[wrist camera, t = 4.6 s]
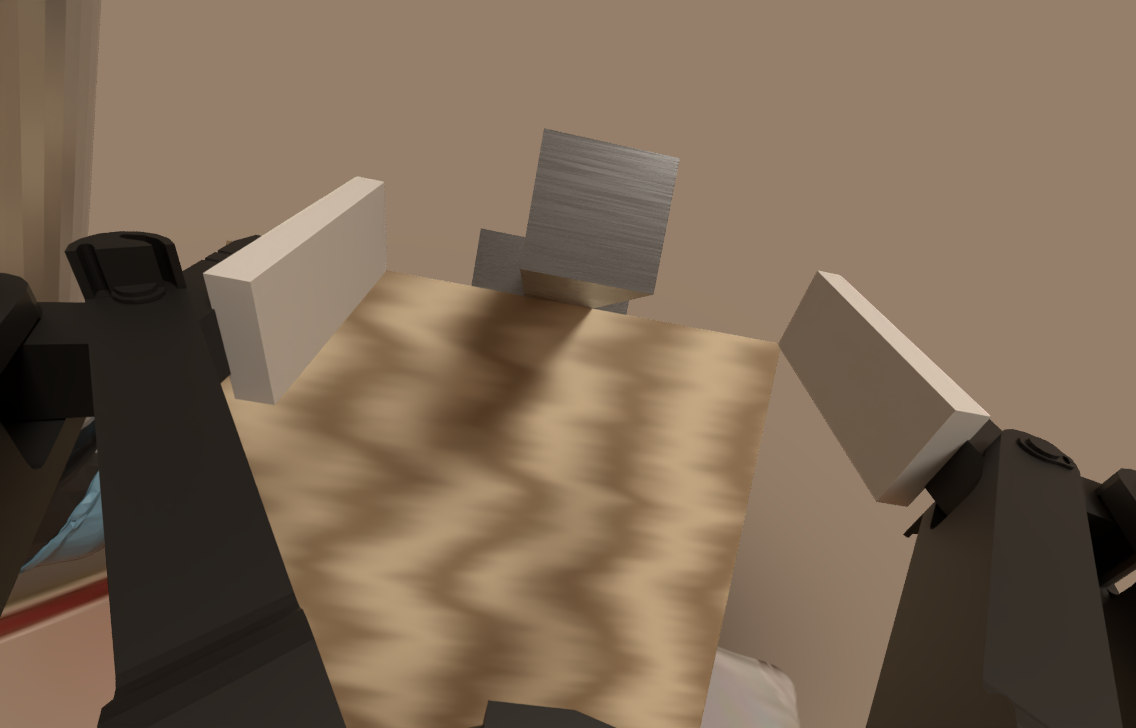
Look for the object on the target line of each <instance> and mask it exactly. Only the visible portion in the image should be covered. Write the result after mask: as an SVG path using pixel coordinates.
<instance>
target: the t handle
mask: <svg viewBox="0 0 1136 728" xmlns="http://www.w3.org/2000/svg"><path fill="white" fill-rule="evenodd" d="M678 163H679V158H676V157H671V156H666V155H662V154H657V153H653V152H648V151H644V150H639V149H635V148H630V147H625V146H621V145H617V144H612V143H608V142H603V141H598V140H594V139H590V138H585V137H580V136H575V135H571V134H567V133H562V132H558V131H553V130H549V129H544V132H543V138H542V144H541V150H540V156H539V162H538V168H537V173H536V179H535V185H534V191H533V197H532V202H531V208H530V214H529V220H528V226H527V232H526V237H521V236H516V235H511V234H506V233H501V232H495V231H491V230H486V229H481V232H480V238H479V244H478V250H477V256H476V262H475V268H474V274H473V280H472V286H474V287H479V288H484V289H490V290H495V291H500V292H506V293H511V294H516V295H522V296H527V297H532V298H538V299H543V300H549V301H554V302H559V303H565V304H570V305H575V306H581V307H586V308H591V309H597V310H602V311H608V312H613V313H618V314H624V315H626V312H627V308H628V302H629V300H631V299H636V298H641V297H645V296H649V295H653V294H654V288H655V283H656V277H657V273H658V267H659V263H660V257H661V252H662V247H663V242H664V236H665V231H666V226H667V221H668V216H669V211H670V205H671V200H672V195H673V189H674V184H675V179H676V174H677V169H678Z"/></svg>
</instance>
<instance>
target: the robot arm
mask: <svg viewBox="0 0 1136 728" xmlns="http://www.w3.org/2000/svg"><path fill="white" fill-rule="evenodd" d="M100 9H101V0H0V616H1V614H2V612H3V609H4V607H5V605H6V602H7V600H8V598H9V595H10V593H11V591H12V588H13V586H14V584H15V581H16V579H17V577H18V574H19V573H23V572H25V571H27V570H30V569H32V568H33V567H38V566H43V565H49V564H55V563H60V562H66V561H72V560H78V559H81V558H84V557H87V556H89V555H92V554H94V553H95V552H97V551H99V550H100V549H102V548H103V547H105V553H106V565H107V577H108V590H109V602H110V613H111V626H112V638H113V651H114V662H115V675H116V690H115V695H114V699H113V700H111V701H110V702H109V703H108V704H106V705H105V706H104V707H103V708H102V710H101V714H100V718H99V721H98V725H97V728H346V725H345V722H344V720H343V717H342V714H341V711H340V708H339V706H338V703H337V700H336V697H335V694H334V692H333V689H332V686H331V683H330V680H329V678H328V675H327V672H326V669H325V666H324V664H323V661H322V658H321V655H320V652H319V650H318V647H317V644H316V641H315V638H314V636H313V633H312V630H311V628H310V625H309V622H308V620H307V617H306V615H305V613H304V611H303V609H302V608H300V606H299V604H298V601H297V599H296V596H295V593H294V591H293V588H292V585H291V582H290V579H289V576H288V574H287V571H286V568H285V565H284V562H283V559H282V556H281V554H280V551H279V548H278V545H277V542H276V539H275V537H274V534H273V531H272V528H271V525H270V522H269V520H268V517H267V514H266V511H265V508H264V505H263V503H262V500H261V497H260V494H259V491H258V488H257V486H256V483H255V480H254V477H253V474H252V471H251V468H250V466H249V463H248V460H247V457H246V454H245V451H244V449H243V446H242V443H241V440H240V437H239V434H238V432H237V429H236V426H235V423H234V420H233V417H232V415H231V412H230V409H229V406H228V403H227V400H226V397H225V395H224V392H223V389H222V386H221V383H222V382H223V381H224V380H225V379H226V378H227V377H228V376H229V377H230V381H231V385H232V389H233V392H234V396H235V399H239V400H245V401H252V402H258V403H264V404H270V405H275V404H276V403H277V402H278V401H279V400H280V398H281V397H282V396H283V395H284V394H285V392H286V391H287V390H288V389H289V388H290V386H291V385H292V384H293V383H294V382H295V380H296V379H297V378H298V377H299V375H300V374H301V373H302V372H303V371H304V369H305V368H306V367H307V366H308V365H309V363H310V362H311V361H312V360H313V359H314V357H315V356H316V355H317V354H318V353H319V351H320V350H321V349H322V348H323V347H324V345H325V344H326V343H327V342H328V341H329V339H330V338H331V337H332V336H333V335H334V333H335V332H336V331H337V330H338V328H339V327H340V326H341V325H342V324H343V322H344V321H345V320H346V319H347V318H348V316H349V315H350V314H351V313H352V312H353V310H354V309H355V308H356V307H357V306H358V304H359V303H360V302H361V301H362V300H363V298H364V297H365V296H366V295H367V294H368V292H369V291H370V290H371V289H372V288H373V286H374V285H375V284H376V283H377V282H378V280H379V279H380V278H381V277H382V275H383V274H384V273H385V272H386V237H385V236H386V235H385V190H384V189H385V186H384V182H382V181H377V180H372V179H368V178H363V177H355V178H353V179H352V180H350V181H349V182H347V183H346V184H344V185H342V186H341V187H339V188H338V189H336V190H334V191H333V192H331V193H330V194H328V195H326V196H325V197H323V198H322V199H320V200H318V201H317V202H315V203H314V204H312V205H311V206H309V207H307V208H306V209H304V210H302V211H301V212H299V213H298V214H296V215H295V216H293V217H291V218H290V219H288V220H287V221H285V222H283V223H282V224H280V225H279V226H277V227H275V228H274V229H272V230H271V231H269V232H268V233H266V234H264V235H263V236H259V235H254V236H251V237H247V238H243V239H239V240H236V241H233V242H231V243H229V244H228V245H226V246H225V247H223V248H221V249H219V250H218V253H217V252H214V253H213V254H211V255H209V256H208V257H206V258H205V260H201V261H199V262H198V263H196V264H194V265H192V266H191V267H189V268H188V269H186V270H184V271H182V269H181V265H180V262H179V258H178V255H177V251H176V248H175V244H174V243H173V242H172V241H171V240H170V239H169V238H166V237H163V236H161V235H157V234H152V233H146V232H125V231H123V232H122V231H120V232H110V233H101V234H96V235H92V236H88V225H89V208H90V190H91V171H92V153H93V136H94V118H95V99H96V82H97V64H98V46H99V27H100ZM84 299H85V303H84ZM778 346H779V347H780V349H781V350H782V352H783V354H784V355H785V357H786V358H787V360H788V361H789V363H790V365H791V366H792V368H793V370H794V371H795V373H796V374H797V376H798V378H799V379H800V381H801V382H802V384H803V385H804V387H805V389H806V390H807V392H808V393H809V395H810V397H811V398H812V400H813V401H814V403H815V405H816V406H817V407H818V409H819V411H820V412H821V414H822V416H823V417H824V419H825V420H826V422H827V424H828V425H829V427H830V428H831V430H832V432H833V433H834V435H835V436H836V438H837V440H838V441H839V443H840V444H841V446H842V448H843V449H844V451H845V452H846V454H847V456H848V457H849V459H850V460H851V462H852V463H853V465H854V467H855V468H856V470H857V472H858V473H859V475H860V476H861V478H862V479H863V481H864V483H865V484H866V486H867V488H868V489H869V491H870V492H871V494H872V495H873V497H874V499H875V500H876V502H881V503H887V504H894V505H899V506H905V507H908V506H909V505H910V504H911V503H912V502H913V500H914V499H915V498H916V497H917V496H918V495H919V494H920V493H921V492H922V491H923V490H924V489H925V488H926V490H927V491H928V492H929V494H930V495H931V496H932V498H933V499H934V500H935V502H934V503H933V504H932V505H931V506H930V507H929V508H928V509H927V510H926V511H925V512H924V513H923V514H922V515H921V516H920V517H919V518H918V520H916V522H915V523H914V524H913V525H912V526H911V527H910V528H909V529H908V530H907V531H906V532H905V533H904V534H903V535H905V536H906V537H910V536H911V535H912V534H918V536H917V540H916V543H915V547H914V551H913V555H912V558H911V562H910V566H909V569H908V573H907V577H906V580H905V584H904V588H903V591H902V595H901V599H900V603H899V606H898V610H897V614H896V617H895V621H894V625H893V629H892V632H891V636H890V640H889V643H888V647H887V651H886V654H885V658H884V662H883V666H882V669H881V673H880V677H879V680H878V684H877V688H876V692H875V695H874V699H873V703H872V706H871V710H870V714H869V718H868V722H867V725H866V728H1136V582H1135V583H1134V584H1133V585H1132V586H1131V587H1129V588H1128V589H1126V590H1125V591H1123V592H1121V593H1120V594H1119V592H1118V590H1117V588H1116V587H1115V585H1114V584H1115V583H1116V582H1118V581H1119V580H1121V579H1122V578H1123V577H1125V576H1127V575H1128V574H1130V573H1131V572H1133V571H1134V570H1136V471H1135V470H1132V469H1120V470H1119V471H1118V472H1116V473H1115V474H1114V475H1112V476H1111V477H1110V478H1109V479H1108V480H1106V481H1105V482H1104V483H1103V484H1100V483H1097V482H1095V481H1092V480H1089V479H1086V478H1084V477H1081V476H1080V471H1079V470H1078V468H1077V466H1076V464H1075V463H1074V462H1073V460H1072V459H1071V458H1069V457H1068V456H1066V455H1065V454H1064V453H1062V452H1061V451H1060V450H1059V449H1058V448H1057V447H1055V446H1054V445H1053V444H1051V443H1049V442H1048V441H1046V440H1043V439H1041V438H1038V437H1035V436H1032V435H1030V434H1028V433H1025V432H1022V431H1018V430H1014V429H1007V430H1004V431H1002V430H1001V429H999V428H998V427H997V426H996V425H995V424H994V423H993V422H992V421H991V420H990V417H991V416H990V415H989V414H988V413H987V412H986V411H985V410H984V409H983V408H981V407H980V406H979V405H978V404H977V403H976V402H975V401H974V400H973V399H972V398H971V397H970V396H969V395H968V394H967V393H965V392H964V391H963V390H962V389H961V388H960V387H959V386H958V385H957V384H956V383H955V382H954V381H953V380H952V379H951V378H949V377H948V376H947V375H946V374H945V373H944V372H943V371H942V370H941V369H940V368H939V367H938V366H937V365H936V364H935V363H933V362H932V361H931V360H930V359H929V358H928V357H927V356H926V355H925V354H924V353H923V352H922V351H921V350H920V349H918V348H917V347H916V346H915V345H914V344H913V343H912V342H911V341H910V340H909V339H908V338H907V337H906V336H905V335H903V334H902V333H901V332H900V331H899V330H898V329H897V328H896V327H895V326H894V325H893V324H892V323H891V322H890V321H889V320H888V319H886V318H885V317H884V316H883V315H882V314H881V313H880V312H879V311H878V310H877V309H876V308H875V307H874V306H873V305H872V304H870V303H869V302H868V301H867V300H866V299H865V298H864V297H863V296H862V295H861V294H860V293H859V292H858V291H857V290H856V289H855V288H853V287H852V286H851V285H850V284H849V283H848V282H847V281H846V280H845V279H844V278H843V277H842V276H840V275H836V274H831V273H826V272H821V271H817V272H816V274H815V276H814V278H813V280H812V282H811V284H810V286H809V287H808V289H807V291H806V293H805V295H804V297H803V299H802V301H801V302H800V305H799V306H798V308H797V310H796V312H795V314H794V316H793V317H792V319H791V322H790V323H789V325H788V327H787V329H786V331H785V332H784V334H783V336H782V338H781V340H780V342H779V344H778ZM469 728H616V727H613V726H611V725H609V724H607V723H604V722H602V721H600V720H597V719H595V718H593V717H590V716H588V715H586V714H583V713H581V712H579V711H576V710H571V709H562V708H553V707H544V706H535V705H526V704H517V703H508V702H499V701H490V700H488V703H487V707H486V711H485V715H484V719H483V723H482V725H478V726H474V727H469Z"/></svg>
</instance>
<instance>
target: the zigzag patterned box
mask: <svg viewBox="0 0 1136 728" xmlns="http://www.w3.org/2000/svg"><path fill="white" fill-rule="evenodd" d="M231 242H232V241H227V242H226V245H228V244H229V243H231ZM778 344H779V343H774V342H768V341H763V340H758V339H752V338H747V337H742V336H736V335H730V334H725V333H720V332H715V331H709V330H704V329H699V328H693V327H688V326H683V325H677V324H672V323H667V322H661V321H655V320H650V319H645V318H640V317H634V316H628V315H624V314H618V313H613V312H608V311H602V310H597V309H591V308H586V307H581V306H575V305H570V304H565V303H559V302H554V301H549V300H543V299H538V298H532V297H527V296H522V295H516V294H511V293H506V292H500V291H495V290H490V289H484V288H479V287H474V286H468V285H463V284H457V283H452V282H447V281H441V280H436V279H431V278H425V277H420V276H414V275H409V274H404V273H398V272H393V271H388V270H386V272H385V273H384V274H383V275H382V277H381V278H380V279H379V280H378V282H377V283H376V284H375V285H374V286H373V288H372V289H371V290H370V291H369V292H368V294H367V295H366V296H365V297H364V298H363V300H362V301H361V302H360V303H359V304H358V306H357V307H356V308H355V309H354V310H353V312H352V313H351V314H350V315H349V316H348V318H347V319H346V320H345V321H344V322H343V324H342V325H341V326H340V327H339V328H338V330H337V331H336V332H335V333H334V335H333V336H332V337H331V338H330V339H329V341H328V342H327V343H326V344H325V345H324V347H323V348H322V349H321V350H320V351H319V353H318V354H317V355H316V356H315V357H314V359H313V360H312V361H311V362H310V363H309V365H308V366H307V367H306V368H305V369H304V371H303V372H302V373H301V374H300V375H299V377H298V378H297V379H296V380H295V382H294V383H293V384H292V385H291V386H290V388H289V389H288V390H287V391H286V392H285V394H284V395H283V396H282V397H281V398H280V400H279V401H278V402H277V403H276V404H275V405H270V404H264V403H258V402H252V401H245V400H239V399H235V396H234V392H233V389H232V385H231V381H230V377H229V376H228V377H227V378H226V379H225V380H224V381H223V382H222V383H221V386H222V389H223V392H224V395H225V397H226V400H227V403H228V406H229V409H230V412H231V415H232V417H233V420H234V423H235V426H236V429H237V432H238V434H239V437H240V440H241V443H242V446H243V449H244V451H245V454H246V457H247V460H248V463H249V466H250V468H251V471H252V474H253V477H254V480H255V483H256V486H257V488H258V491H259V494H260V497H261V500H262V503H263V505H264V508H265V511H266V514H267V517H268V520H269V522H270V525H271V528H272V531H273V534H274V537H275V539H276V542H277V545H278V548H279V551H280V554H281V556H282V559H283V562H284V565H285V568H286V571H287V574H288V576H289V579H290V582H291V585H292V588H293V591H294V593H295V596H296V599H297V601H298V604H299V606H300V608H302V609H303V611H304V613H305V615H306V617H307V620H308V622H309V625H310V628H311V630H312V633H313V636H314V638H315V641H316V644H317V647H318V650H319V652H320V655H321V658H322V661H323V664H324V666H325V669H326V672H327V675H328V678H329V680H330V683H331V686H332V689H333V692H334V694H335V697H336V700H337V703H338V706H339V708H340V711H341V714H342V717H343V720H344V722H345V725H346V728H469V727H474V726H478V725H482V723H483V719H484V715H485V711H486V707H487V703H488V700H490V701H499V702H508V703H517V704H526V705H535V706H544V707H553V708H562V709H571V710H576V711H579V712H581V713H583V714H586V715H588V716H590V717H593V718H595V719H597V720H600V721H602V722H604V723H607V724H609V725H611V726H613V727H616V728H700V726H701V721H702V716H703V712H704V707H705V702H706V698H707V693H708V688H709V683H710V679H711V674H712V669H713V664H714V660H715V655H716V650H717V646H718V641H719V636H720V631H721V626H722V622H723V617H724V612H725V608H726V603H727V598H728V593H729V589H730V584H731V579H732V575H733V570H734V565H735V560H736V556H737V551H738V546H739V542H740V537H741V532H742V527H743V523H744V518H745V513H746V509H747V504H748V498H749V494H750V490H751V485H752V480H753V475H754V471H755V466H756V461H757V456H758V452H759V447H760V442H761V438H762V433H763V428H764V423H765V419H766V414H767V409H768V404H769V400H770V395H771V390H772V386H773V381H774V376H775V372H776V367H777V362H778V357H779V353H780V347H779V346H778Z"/></svg>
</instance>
